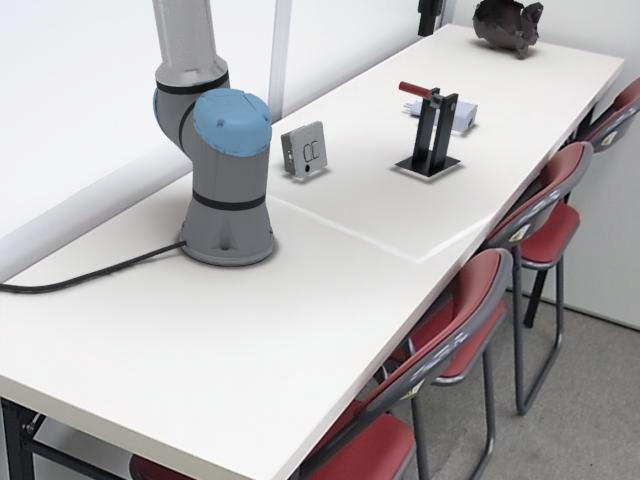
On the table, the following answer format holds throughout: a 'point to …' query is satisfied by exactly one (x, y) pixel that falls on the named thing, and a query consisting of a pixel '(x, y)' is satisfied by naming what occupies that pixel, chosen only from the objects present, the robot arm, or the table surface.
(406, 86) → the lever
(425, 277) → the table surface
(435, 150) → the bracket
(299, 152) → the electrical switch
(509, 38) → the dark grey rounded piece
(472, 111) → the charger
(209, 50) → the robot arm
